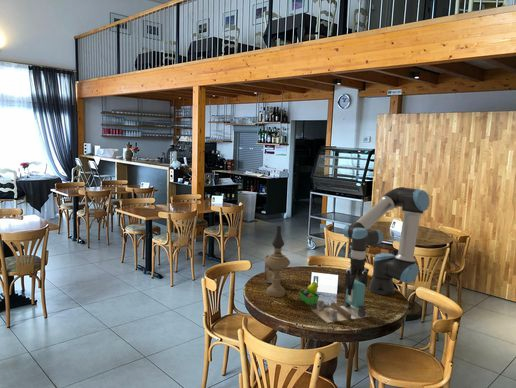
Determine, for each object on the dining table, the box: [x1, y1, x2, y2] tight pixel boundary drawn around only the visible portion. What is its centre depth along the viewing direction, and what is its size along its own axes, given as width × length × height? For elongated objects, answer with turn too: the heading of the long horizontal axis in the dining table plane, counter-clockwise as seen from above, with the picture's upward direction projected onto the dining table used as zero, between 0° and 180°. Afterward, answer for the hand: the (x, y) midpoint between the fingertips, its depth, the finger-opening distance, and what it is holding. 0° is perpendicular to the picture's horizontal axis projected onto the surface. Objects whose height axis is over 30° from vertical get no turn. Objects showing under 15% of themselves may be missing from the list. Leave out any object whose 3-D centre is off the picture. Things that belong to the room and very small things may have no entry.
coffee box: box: [263, 254, 281, 284], centre depth 257 cm, size 9×6×16 cm
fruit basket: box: [298, 281, 320, 306], centre depth 227 cm, size 11×9×11 cm
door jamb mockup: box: [311, 296, 371, 324], centre depth 213 cm, size 26×16×6 cm, turn 112°
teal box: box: [345, 278, 366, 308], centre depth 215 cm, size 5×9×12 cm, turn 22°
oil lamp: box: [264, 225, 291, 298], centre depth 236 cm, size 15×15×40 cm
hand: (354, 300), depth 216 cm, fingers closed on teal box, 5 cm apart
